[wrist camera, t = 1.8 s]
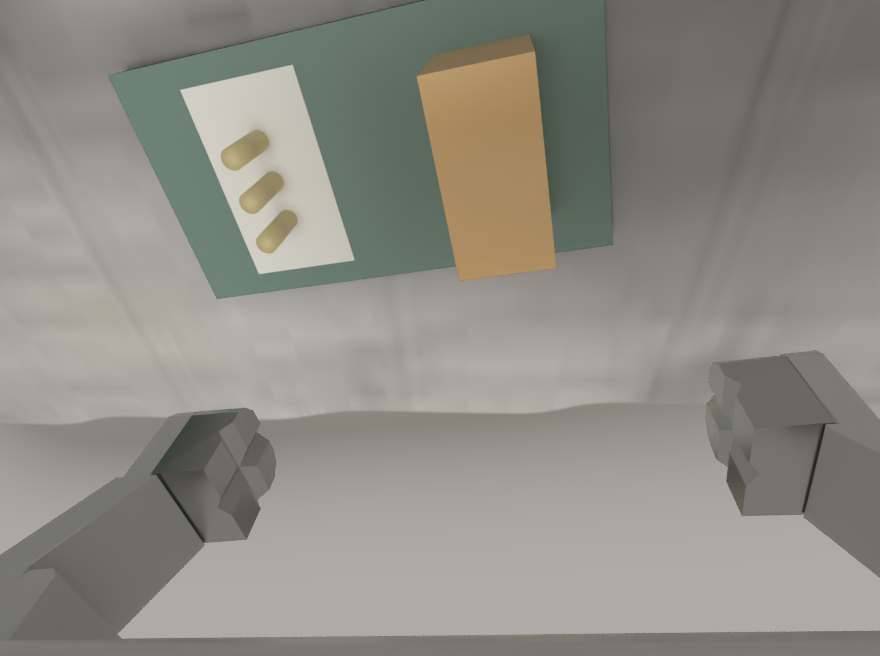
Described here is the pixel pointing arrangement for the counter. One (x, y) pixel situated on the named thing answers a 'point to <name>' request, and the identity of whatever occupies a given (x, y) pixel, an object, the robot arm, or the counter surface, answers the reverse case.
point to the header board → (357, 140)
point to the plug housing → (490, 156)
